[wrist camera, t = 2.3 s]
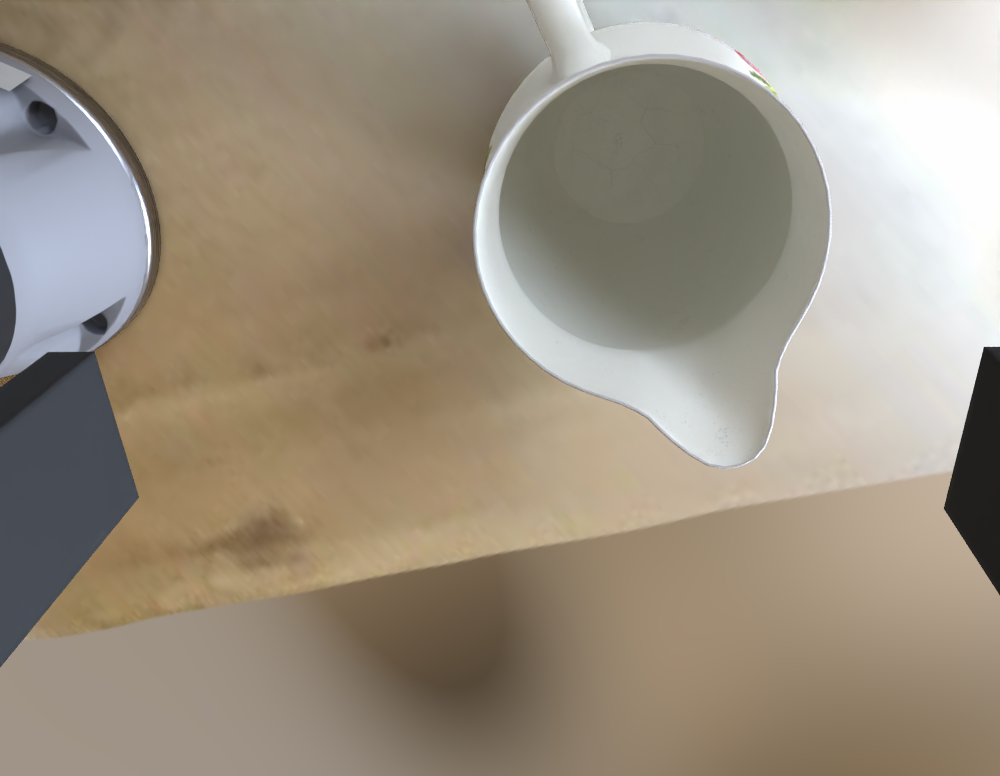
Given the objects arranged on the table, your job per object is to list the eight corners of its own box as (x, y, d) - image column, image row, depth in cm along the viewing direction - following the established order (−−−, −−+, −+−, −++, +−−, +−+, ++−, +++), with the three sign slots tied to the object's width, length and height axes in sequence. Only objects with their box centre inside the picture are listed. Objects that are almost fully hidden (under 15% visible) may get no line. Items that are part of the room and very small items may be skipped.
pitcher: (663, -166, 30) (714, -247, 18) (809, 260, 37) (916, 408, 25) (407, -20, 33) (304, -5, 21) (585, 348, 40) (584, 519, 28)
